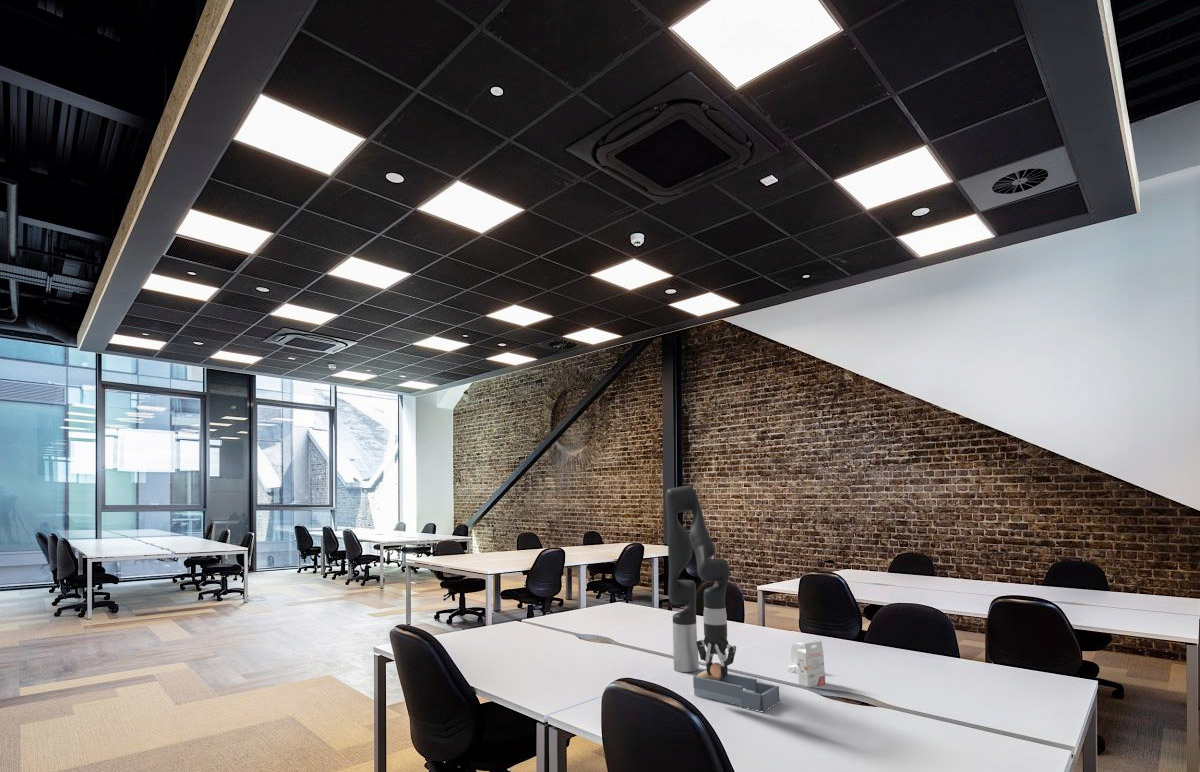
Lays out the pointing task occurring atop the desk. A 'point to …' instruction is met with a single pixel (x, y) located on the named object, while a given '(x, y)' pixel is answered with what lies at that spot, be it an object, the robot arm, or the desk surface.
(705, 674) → the tan curved piece
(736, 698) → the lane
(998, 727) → the desk surface
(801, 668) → the ink cartridge box
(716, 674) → the ball
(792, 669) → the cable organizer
